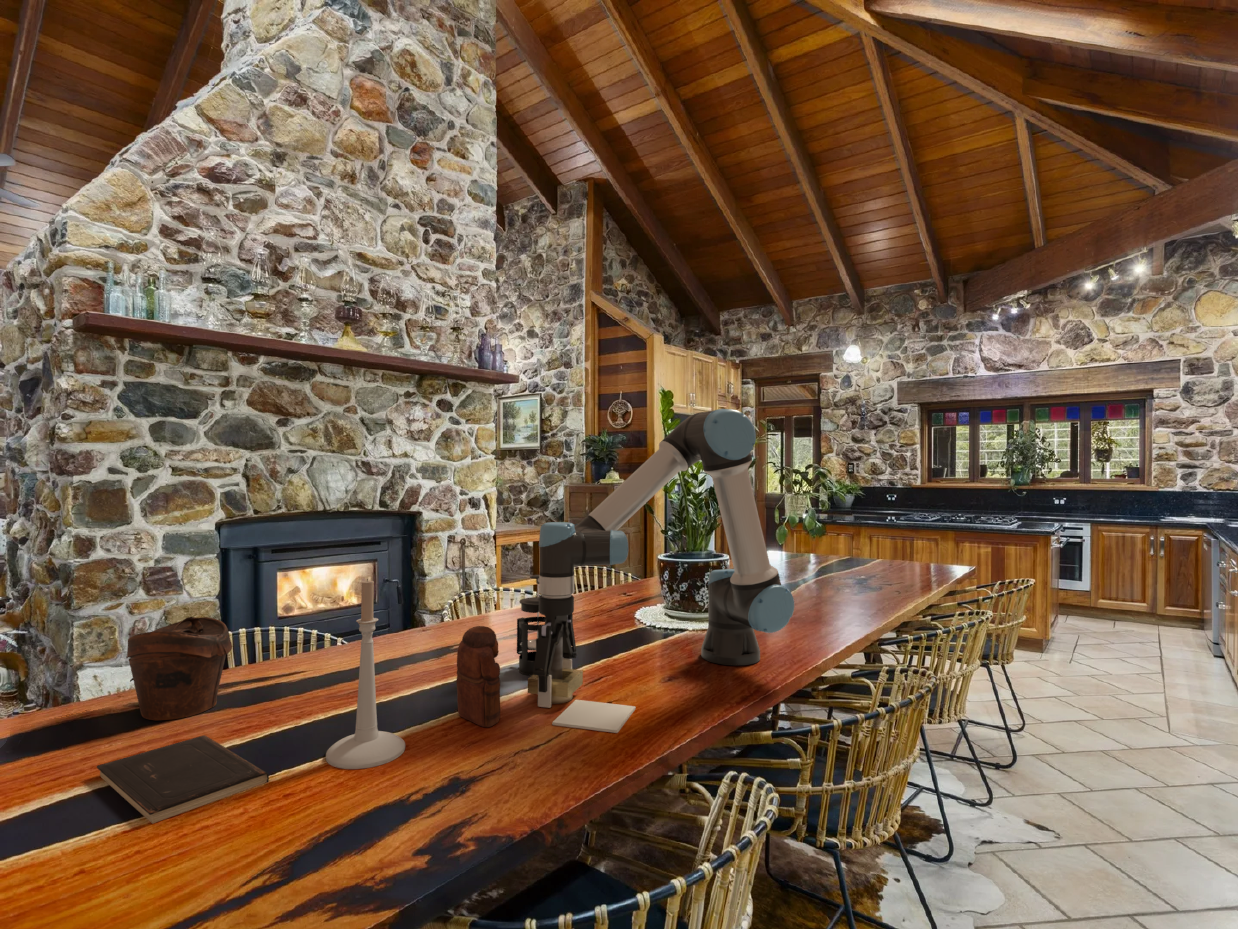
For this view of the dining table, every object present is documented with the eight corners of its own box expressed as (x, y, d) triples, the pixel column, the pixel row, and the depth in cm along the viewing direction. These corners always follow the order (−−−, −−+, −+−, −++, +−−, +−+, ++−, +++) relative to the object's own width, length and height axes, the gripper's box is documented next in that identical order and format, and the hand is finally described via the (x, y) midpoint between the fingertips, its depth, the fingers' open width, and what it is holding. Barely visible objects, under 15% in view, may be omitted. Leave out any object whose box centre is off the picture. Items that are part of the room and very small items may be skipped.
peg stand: (577, 694, 145) (577, 634, 145) (565, 705, 138) (565, 642, 138) (546, 690, 147) (547, 631, 147) (533, 701, 140) (533, 640, 140)
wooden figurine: (510, 721, 130) (511, 629, 130) (483, 731, 125) (484, 634, 125) (476, 706, 138) (477, 618, 138) (449, 714, 133) (449, 624, 133)
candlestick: (358, 776, 106) (359, 588, 107) (309, 757, 113) (311, 580, 113) (420, 747, 117) (422, 577, 117) (373, 731, 124) (374, 570, 124)
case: (217, 685, 149) (216, 605, 148) (244, 710, 134) (243, 621, 134) (118, 707, 136) (117, 619, 136) (136, 736, 122) (135, 639, 122)
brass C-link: (582, 684, 146) (582, 670, 146) (567, 697, 137) (567, 683, 137) (544, 680, 148) (544, 666, 148) (527, 693, 140) (527, 678, 140)
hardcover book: (149, 829, 92) (149, 812, 92) (96, 780, 106) (96, 765, 106) (269, 785, 104) (269, 771, 104) (207, 747, 118) (207, 734, 118)
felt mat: (635, 709, 137) (635, 706, 137) (617, 733, 124) (617, 730, 124) (575, 702, 140) (575, 699, 140) (552, 724, 128) (552, 722, 128)
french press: (566, 669, 163) (567, 575, 163) (539, 679, 155) (540, 580, 155) (532, 660, 170) (533, 570, 170) (505, 669, 162) (505, 575, 162)
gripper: (560, 584, 155) (559, 678, 155) (516, 604, 133) (515, 714, 133) (591, 586, 153) (590, 681, 153) (551, 607, 130) (550, 719, 130)
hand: (555, 697), depth 143 cm, fingers open, 11 cm apart
